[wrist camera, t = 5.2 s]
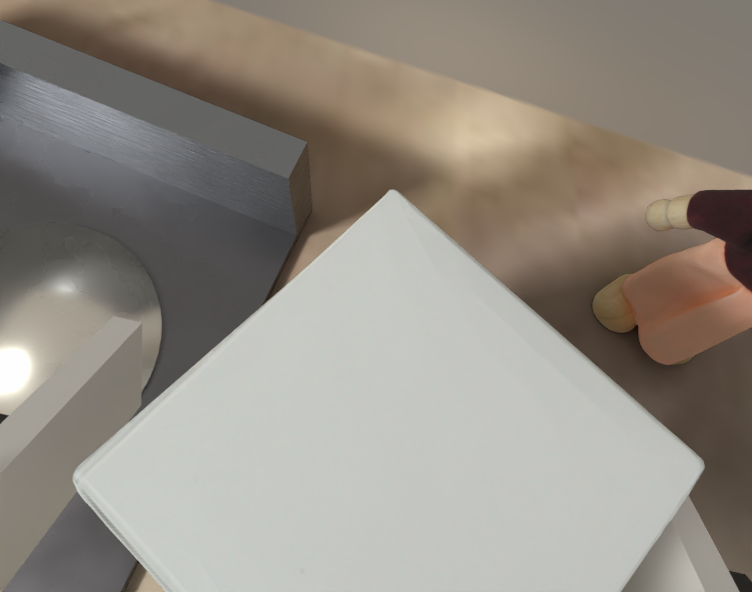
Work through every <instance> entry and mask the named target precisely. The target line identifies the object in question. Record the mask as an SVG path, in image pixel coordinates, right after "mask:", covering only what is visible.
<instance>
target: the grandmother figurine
mask: <svg viewBox="0 0 752 592" xmlns="http://www.w3.org/2000/svg"><path fill="white" fill-rule="evenodd" d="M645 219H646V222H647V224H648V225H649V227H651V228H652V229H654V230H656V231H666V230H669V229H672V228H674V227H675V228H677V229H691V228H695V229H698V230H702V231H705V232H707V233H708V234H710V235H713V236H715V237H716V238H715V239H713V240H712V241H710V242H707V243H705V244H701V245H698V246H694V247H691V248H688V249H685V250H683V251H681V252H676V253H673V254H670V255H668V256H665V257H663V258H661V259H659V260H657V261H655V262H653V263H651V264H649V265H648V266H646V267H645V268H643V269H642V270H640V271H638V272H636V273H634V274H625V275H622V276H620V277H618V278H617V279H615V280H614V281H613V282H611V283H610V284H608V285H607V286H606V287H604V288H603V289H602V290H600V291H599V292H598V293H597V294H596V295H595V297H594V300H593V304H592V305H593V312H594V314H595V316H596V318H597V319H598V320H599V321H600V323H601V324H602V325H604V326H605V327H606V328H607V329H609V330H611V331H614V332H619V333H623V332H628V331H630V330H632V329H633V328H634V327H635V326H636V325H638V326H639V328H638V331H639V341H640V344H641V346H642V348H643V350H644V351H645V352H646V353H647V354H648V355H649V356H650V357H651V358H652V359H653V360H655V361H657V362H659V363H661V364H664V365H671V364H675V365H677V364H684V363H686V362H688V361H689V360H690V359H692V357H693V356H694V355H696V354H698V353H700V352H702V351H704V350H706V349H709V348H711V347H713V346H715V345H717V344H719V343H721V342H723V341H725V340H726V339H728V338H731V337H733V336H735V335H737V334H738V333H741V332H743V331H745V330H748V329H750V328H752V190H704V191H699V192H697V193H696V194H692V195H686V196H680V197H677V198H675V199H673V200H672V201H671V200H668V199H663V200H657V201H655V202H653V203H652V204H650V206H649V207H648V208H647V210H646V213H645Z"/></svg>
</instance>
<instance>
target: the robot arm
mask: <svg viewBox="0 0 752 592" xmlns="http://www.w3.org/2000/svg"><path fill="white" fill-rule="evenodd" d="M141 389H142V322H138V321H133V320H129V319H124V318H119V317H115V316H113V317H112V318H111V319H110V320H109V321H108V322H107V323H106V324H105V325H104V326H103V327H102V328H101V329H100V330H99V331H98V332H96V333H95V334H94V335H93V336H92V337H91V338H90V339H89V340H88V341H87V342H86V343H85V344H84V345H83V346H82V347H81V348H80V349H79V350H78V351H76V352H75V353H74V354H73V355H72V356H71V357H70V358H69V359H68V360H67V361H66V362H65V363H64V364H63V365H62V366H61V367H60V368H59V369H58V370H56V371H55V372H54V373H53V374H52V375H51V376H50V377H49V378H48V379H47V380H46V381H45V382H44V383H43V384H42V385H41V386H40V387H39V388H38V389H36V390H35V391H34V392H33V393H32V394H31V395H30V396H29V397H28V398H27V399H26V400H25V401H24V402H23V403H22V404H21V405H20V406H19V407H18V408H16V409H15V410H14V411H13V412H12V413H11V414H10V415H5V414H0V592H2V591H3V590H4V589H5V587H6V586H7V585H8V583H9V582H10V581H11V579H12V578H13V577H14V575H15V574H16V572H17V571H18V570H19V568H20V567H21V566H22V564H23V563H24V562H25V560H26V559H27V558H28V556H29V555H30V554H31V552H32V551H33V550H34V548H35V547H36V546H37V544H38V543H39V542H40V540H41V539H42V538H43V536H44V535H45V534H46V532H47V531H48V529H49V528H50V527H51V525H52V524H53V523H54V521H55V520H56V519H57V517H58V516H59V515H60V513H61V512H62V511H63V509H64V508H65V507H66V505H67V504H68V503H69V501H70V500H71V499H72V497H73V496H74V495H75V493H76V492H77V490H76V487H75V485H74V483H73V474H74V472H75V470H76V469H77V467H78V466H79V465H80V464H81V463H82V462H83V461H84V460H86V459H87V458H88V457H89V456H90V455H91V454H93V453H94V452H95V451H96V450H97V449H98V448H100V447H101V446H102V445H103V444H104V443H105V442H107V441H108V440H109V439H110V438H111V437H112V436H113V435H115V434H116V433H117V432H118V431H119V430H120V429H121V428H123V427H124V426H125V425H126V424H127V423H128V422H129V421H130V419H131V418H132V417H133V415H134V414H135V413H136V411H137V410H138V409H139V407H140V406H141ZM621 592H752V582H751V581H750V580H749V578H748V577H747V576H746V575H745V574H741V573H736V572H732V571H728V569H727V567H726V565H725V563H724V561H723V559H722V557H721V556H720V554H719V552H718V550H717V548H716V546H715V544H714V542H713V540H712V539H711V537H710V535H709V533H708V531H707V529H706V527H705V525H704V524H703V522H702V520H701V518H700V516H699V514H698V512H697V510H696V508H695V507H694V505H693V503H692V501H691V499H690V497H689V495H688V496H687V498H686V499H685V501H684V502H683V504H682V505H681V506H680V508H679V509H678V511H677V512H676V514H675V516H674V517H673V518H672V520H671V521H670V522H669V524H668V525H667V526H666V527H665V529H664V531H663V532H662V534H661V535H660V537H659V538H658V540H657V541H656V542H655V544H654V545H653V546H652V548H651V549H650V551H649V552H648V553H647V555H646V556H645V558H644V559H643V561H642V562H641V564H640V565H639V566H638V568H637V569H636V571H635V572H634V574H633V575H632V577H631V578H630V579H629V581H628V582H627V584H626V585H625V587H624V588H623V590H622V591H621Z"/></svg>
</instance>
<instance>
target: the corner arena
mask: <svg viewBox="0 0 752 592" xmlns="http://www.w3.org/2000/svg"><path fill="white" fill-rule="evenodd" d="M311 210H312V200H311V186H310V173H309V159H308V146H307V142H306V141H303V140H301V139H298V138H296V137H293V136H291V135H288V134H286V133H283V132H281V131H278V130H276V129H273V128H271V127H268V126H266V125H263V124H261V123H258V122H256V121H253V120H251V119H248V118H246V117H243V116H241V115H238V114H236V113H233V112H231V111H228V110H226V109H223V108H221V107H218V106H216V105H213V104H211V103H208V102H205V101H203V100H200V99H198V98H195V97H193V96H190V95H188V94H185V93H183V92H180V91H178V90H175V89H173V88H170V87H168V86H165V85H163V84H160V83H158V82H155V81H153V80H150V79H148V78H145V77H143V76H140V75H138V74H135V73H133V72H130V71H128V70H125V69H123V68H120V67H118V66H115V65H113V64H110V63H108V62H105V61H102V60H100V59H97V58H95V57H92V56H90V55H87V54H85V53H82V52H80V51H77V50H75V49H72V48H70V47H67V46H65V45H62V44H60V43H57V42H55V41H52V40H50V39H47V38H45V37H42V36H40V35H37V34H35V33H32V32H30V31H27V30H25V29H22V28H20V27H17V26H15V25H12V24H10V23H7V22H5V21H2V20H0V414H5V415H10V414H11V413H12V412H13V411H14V410H15V409H16V408H18V407H19V406H20V405H21V404H22V403H23V402H24V401H25V400H26V399H27V398H28V397H29V396H30V395H31V394H32V393H33V392H34V391H35V390H36V389H38V388H39V387H40V386H41V385H42V384H43V383H44V382H45V381H46V380H47V379H48V378H49V377H50V376H51V375H52V374H53V373H54V372H55V371H56V370H58V369H59V368H60V367H61V366H62V365H63V364H64V363H65V362H66V361H67V360H68V359H69V358H70V357H71V356H72V355H73V354H74V353H75V352H76V351H78V350H79V349H80V348H81V347H82V346H83V345H84V344H85V343H86V342H87V341H88V340H89V339H90V338H91V337H92V336H93V335H94V334H95V333H96V332H98V331H99V330H100V329H101V328H102V327H103V326H104V325H105V324H106V323H107V322H108V321H109V320H110V319H111V318H112V317H113V316H115V317H119V318H124V319H129V320H133V321H138V322H142V389H141V406H140V407H139V409H138V410H137V411H136V413H135V414H134V415H133V417H132V418H131V419H130V421H131V420H132V419H133V418H134V417H135V416H136V415H138V414H139V413H140V412H141V411H142V410H143V409H144V408H146V407H147V406H148V405H149V404H150V403H151V402H152V401H154V400H155V399H156V398H157V397H158V396H159V395H160V394H162V393H163V392H164V391H165V390H166V389H167V388H169V387H170V386H171V385H172V384H173V383H174V382H175V381H177V380H178V379H179V378H180V377H181V376H182V375H183V374H185V373H186V372H187V371H188V370H189V369H190V368H192V367H193V366H194V365H195V364H196V363H197V362H198V361H200V360H201V359H202V358H203V357H204V356H205V355H206V354H208V353H209V352H210V351H211V350H212V349H213V348H214V347H216V346H217V345H218V344H219V343H220V342H221V341H222V340H224V339H225V338H226V337H227V336H228V335H229V334H230V333H232V332H233V331H234V330H235V329H236V328H237V327H238V326H240V325H241V324H242V323H243V322H244V321H245V320H246V319H248V318H249V317H250V316H251V315H252V314H253V313H254V312H256V311H257V310H258V309H259V308H260V307H261V306H262V305H264V304H265V303H266V302H267V300H268V298H269V296H270V294H271V292H272V290H273V288H274V286H275V283H276V281H277V279H278V277H279V275H280V273H281V271H282V269H283V267H284V265H285V263H286V261H287V259H288V257H289V255H290V253H291V251H292V249H293V247H294V245H295V243H296V241H297V239H298V237H299V235H300V233H301V231H302V229H303V227H304V225H305V222H306V220H307V218H308V216H309V214H310V212H311ZM130 421H129V422H130ZM138 562H139V561H138V560H137V559H136V558H135V557H134V556H133V554H132V553H131V552H130V551H129V550H128V549H127V548H126V547H125V546H124V545H123V544H122V542H121V541H120V540H119V539H118V538H117V537H116V536H115V535H114V534H113V533H112V532H111V531H110V529H109V528H108V527H107V526H106V525H105V524H104V522H103V521H102V520H101V519H100V518H99V516H98V515H97V514H96V513H95V512H94V510H93V509H92V508H91V507H90V506H89V505H88V504H87V503H86V502H85V501H84V500H83V498H82V497H81V496H80V494H79V493H78V492H76V493H75V495H74V496H73V497H72V499H71V500H70V501H69V503H68V504H67V505H66V507H65V508H64V509H63V511H62V512H61V513H60V515H59V516H58V517H57V519H56V520H55V521H54V523H53V524H52V525H51V527H50V528H49V529H48V531H47V532H46V534H45V535H44V536H43V538H42V539H41V540H40V542H39V543H38V544H37V546H36V547H35V548H34V550H33V551H32V552H31V554H30V555H29V556H28V558H27V559H26V560H25V562H24V563H23V564H22V566H21V567H20V568H19V570H18V571H17V572H16V574H15V575H14V577H13V578H12V579H11V581H10V582H9V583H8V585H7V586H6V587H5V589H4V590H3V591H2V592H124V590H125V588H126V586H127V584H128V582H129V580H130V578H131V576H132V574H133V572H134V570H135V568H136V566H137V564H138Z"/></svg>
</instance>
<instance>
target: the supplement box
mask: <svg viewBox="0 0 752 592" xmlns="http://www.w3.org/2000/svg"><path fill="white" fill-rule="evenodd" d="M704 468H705V465H704V460H702V459H701V458H700V457H699V456H698V455H697V454H696V453H695V452H694V451H693V450H692V449H691V448H690V447H688V446H687V445H686V444H685V443H684V442H683V441H682V440H680V439H679V438H678V437H677V436H676V435H675V434H673V433H672V432H671V431H670V430H669V429H668V428H666V427H665V426H664V425H663V424H662V423H661V422H659V421H658V420H657V419H656V418H655V417H654V416H653V415H652V414H651V413H650V412H649V411H647V410H646V409H645V408H644V407H643V406H642V405H641V404H640V403H638V402H637V401H636V400H635V399H634V398H633V397H632V396H630V395H629V394H628V393H627V392H626V391H625V390H624V389H623V388H621V387H620V386H619V385H618V384H617V383H616V382H615V381H614V380H612V379H611V378H610V377H609V376H608V375H607V374H606V373H604V372H603V371H602V370H601V369H600V368H599V367H598V366H597V365H595V364H594V363H593V362H592V361H591V360H590V359H589V358H587V357H586V356H585V355H584V354H583V353H582V352H581V351H579V350H578V349H577V348H576V347H575V346H574V345H573V344H571V343H570V342H569V341H568V340H567V339H566V338H565V337H564V336H562V335H561V334H560V333H559V332H558V331H557V330H556V329H554V328H553V327H552V326H551V325H550V324H549V323H548V322H546V321H545V320H544V319H543V318H542V317H541V316H540V315H538V314H537V313H536V312H535V311H534V310H533V309H532V308H530V307H529V306H528V305H527V304H526V303H525V302H524V301H522V300H521V299H520V298H519V297H518V296H517V295H516V294H515V293H513V292H512V291H511V290H510V289H509V288H508V287H507V286H505V285H504V284H503V283H502V282H501V281H500V280H499V279H497V278H496V277H495V276H494V275H493V274H492V273H491V272H489V271H488V270H487V269H486V268H485V267H484V266H483V265H481V264H480V263H479V262H478V261H477V260H476V259H475V258H473V257H472V256H471V255H470V254H469V253H468V252H467V251H465V250H464V249H463V248H462V247H461V246H460V245H459V244H457V243H456V242H455V241H454V240H453V239H452V238H451V237H449V236H448V235H447V234H446V233H445V232H444V231H443V230H441V229H440V228H439V227H438V226H437V225H436V224H435V223H433V222H432V221H431V220H430V219H429V218H428V217H427V216H426V215H424V214H423V213H422V212H421V211H420V210H419V209H417V208H416V207H415V206H414V205H413V204H412V203H411V202H410V201H408V200H407V199H406V198H405V197H404V196H403V195H402V194H401V193H400V192H399V191H397V190H395V189H392V190H389V191H388V192H387V193H386V194H385V195H384V196H383V197H382V198H381V199H380V200H379V201H378V202H377V203H376V204H375V205H374V206H373V207H371V208H370V209H369V210H368V211H367V212H366V213H365V214H364V215H363V216H362V217H361V218H359V219H358V220H357V221H356V222H355V223H354V224H353V225H352V226H351V227H350V228H349V229H348V230H346V231H345V232H344V233H343V234H342V235H341V236H340V237H339V238H338V239H337V240H336V241H335V242H333V243H332V244H331V245H330V246H329V247H328V248H327V249H326V250H325V251H324V252H323V253H322V254H320V255H319V256H318V257H317V258H316V259H315V260H314V261H313V262H312V263H311V264H310V265H308V266H307V267H306V268H305V269H304V270H303V271H302V272H300V273H299V274H298V275H297V276H296V277H295V278H294V279H292V280H291V281H290V282H289V283H288V284H287V285H285V286H284V287H283V288H282V289H281V290H280V291H279V292H277V293H276V294H275V295H274V296H273V297H272V298H271V299H269V300H268V301H267V302H266V303H265V304H264V305H262V306H261V307H260V308H259V309H258V310H257V311H256V312H254V313H253V314H252V315H251V316H250V317H249V318H248V319H246V320H245V321H244V322H243V323H242V324H241V325H240V326H238V327H237V328H236V329H235V330H234V331H233V332H232V333H230V334H229V335H228V336H227V337H226V338H225V339H224V340H222V341H221V342H220V343H219V344H218V345H217V346H216V347H214V348H213V349H212V350H211V351H210V352H209V353H208V354H206V355H205V356H204V357H203V358H202V359H201V360H200V361H198V362H197V363H196V364H195V365H194V366H193V367H192V368H190V369H189V370H188V371H187V372H186V373H185V374H183V375H182V376H181V377H180V378H179V379H178V380H177V381H175V382H174V383H173V384H172V385H171V386H170V387H169V388H167V389H166V390H165V391H164V392H163V393H162V394H160V395H159V396H158V397H157V398H156V399H155V400H154V401H152V402H151V403H150V404H149V405H148V406H147V407H146V408H144V409H143V410H142V411H141V412H140V413H139V414H138V415H136V416H135V417H134V418H133V419H132V420H131V421H130V422H128V423H127V424H126V425H125V426H124V427H123V428H121V429H120V430H119V431H118V432H117V433H116V434H115V435H113V436H112V437H111V438H110V439H109V440H108V441H107V442H105V443H104V444H103V445H102V446H101V447H100V448H98V449H97V450H96V451H95V452H94V453H93V454H91V455H90V456H89V457H88V458H87V459H86V460H84V461H83V462H82V463H81V464H80V465H79V466H78V467H77V469H76V470H75V472H74V474H73V483H74V485H75V487H76V490H77V492H78V493H79V494H80V496H81V497H82V498H83V500H84V501H85V502H86V503H87V504H88V505H89V506H90V507H91V508H92V509H93V510H94V512H95V513H96V514H97V515H98V516H99V518H100V519H101V520H102V521H103V522H104V524H105V525H106V526H107V527H108V528H109V529H110V531H111V532H112V533H113V534H114V535H115V536H116V537H117V538H118V539H119V540H120V541H121V542H122V544H123V545H124V546H125V547H126V548H127V549H128V550H129V551H130V552H131V553H132V554H133V556H134V557H135V558H136V559H137V560H138V561H139V562H140V563H141V565H142V566H143V567H144V568H145V569H146V570H147V571H148V573H149V574H150V575H151V576H152V577H153V578H154V579H155V581H156V582H157V583H158V584H159V585H160V586H161V587H162V589H163V590H164V591H165V592H621V591H622V590H623V588H624V587H625V585H626V584H627V582H628V581H629V579H630V578H631V577H632V575H633V574H634V572H635V571H636V569H637V568H638V566H639V565H640V564H641V562H642V561H643V559H644V558H645V556H646V555H647V553H648V552H649V551H650V549H651V548H652V546H653V545H654V544H655V542H656V541H657V540H658V538H659V537H660V535H661V534H662V532H663V531H664V529H665V527H666V526H667V525H668V524H669V522H670V521H671V520H672V518H673V517H674V516H675V514H676V512H677V511H678V509H679V508H680V506H681V505H682V504H683V502H684V501H685V499H686V498H687V496H688V495H689V493H690V492H691V490H692V489H693V487H694V485H695V484H696V482H697V481H698V479H699V478H700V476H701V474H702V473H703V471H704Z"/></svg>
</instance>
